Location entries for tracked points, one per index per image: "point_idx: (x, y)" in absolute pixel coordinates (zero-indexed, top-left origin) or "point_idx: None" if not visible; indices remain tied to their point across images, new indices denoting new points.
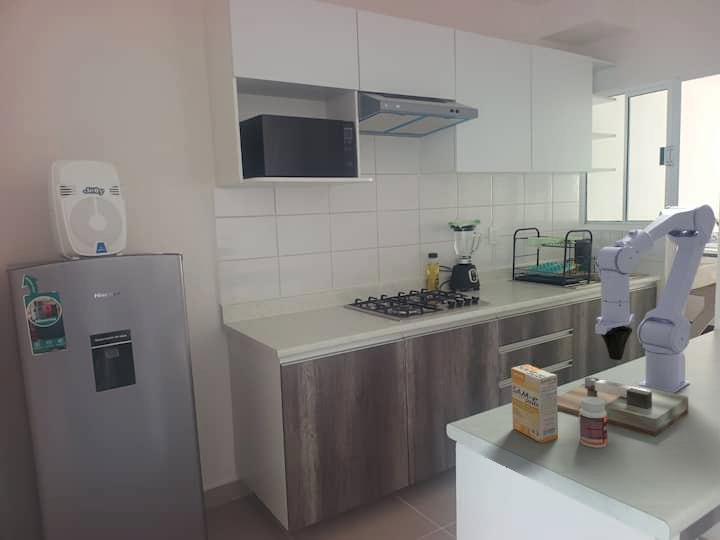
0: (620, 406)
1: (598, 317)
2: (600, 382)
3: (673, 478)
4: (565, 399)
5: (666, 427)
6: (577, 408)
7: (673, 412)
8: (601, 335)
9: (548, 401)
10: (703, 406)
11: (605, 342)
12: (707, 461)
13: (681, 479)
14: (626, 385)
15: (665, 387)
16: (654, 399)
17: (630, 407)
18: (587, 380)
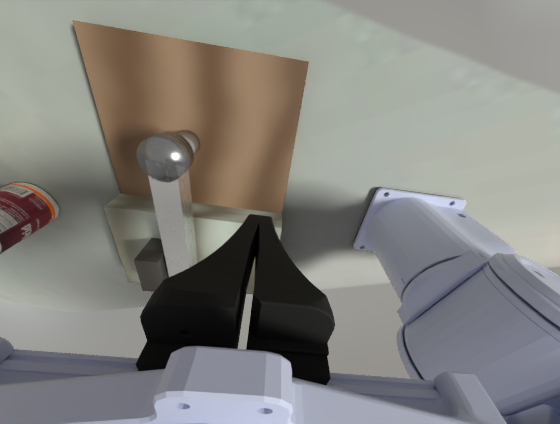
0: (130, 232)
1: (211, 403)
2: (153, 191)
3: (58, 290)
4: (140, 71)
5: None
6: (114, 129)
7: None
8: (184, 270)
9: None
10: None
11: (214, 251)
12: (131, 304)
13: (64, 295)
14: (184, 244)
15: (367, 237)
16: None
17: (142, 245)
18: (138, 153)
